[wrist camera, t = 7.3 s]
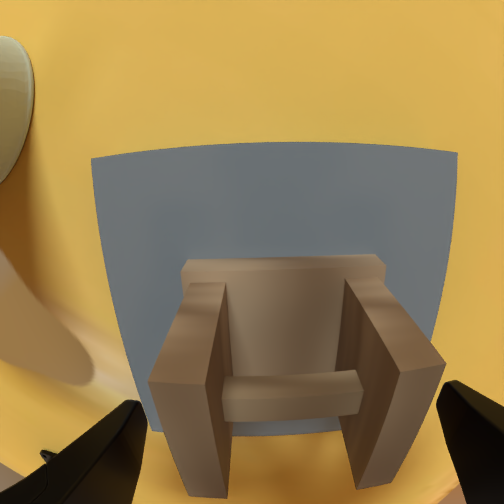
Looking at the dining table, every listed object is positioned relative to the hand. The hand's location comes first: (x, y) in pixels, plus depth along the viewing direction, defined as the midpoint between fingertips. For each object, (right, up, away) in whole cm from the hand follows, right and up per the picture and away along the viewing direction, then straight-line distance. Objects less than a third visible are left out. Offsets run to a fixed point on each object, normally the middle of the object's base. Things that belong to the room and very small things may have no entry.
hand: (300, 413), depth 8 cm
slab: (0, +2, +7) cm, 7 cm away
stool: (0, +1, +5) cm, 5 cm away
